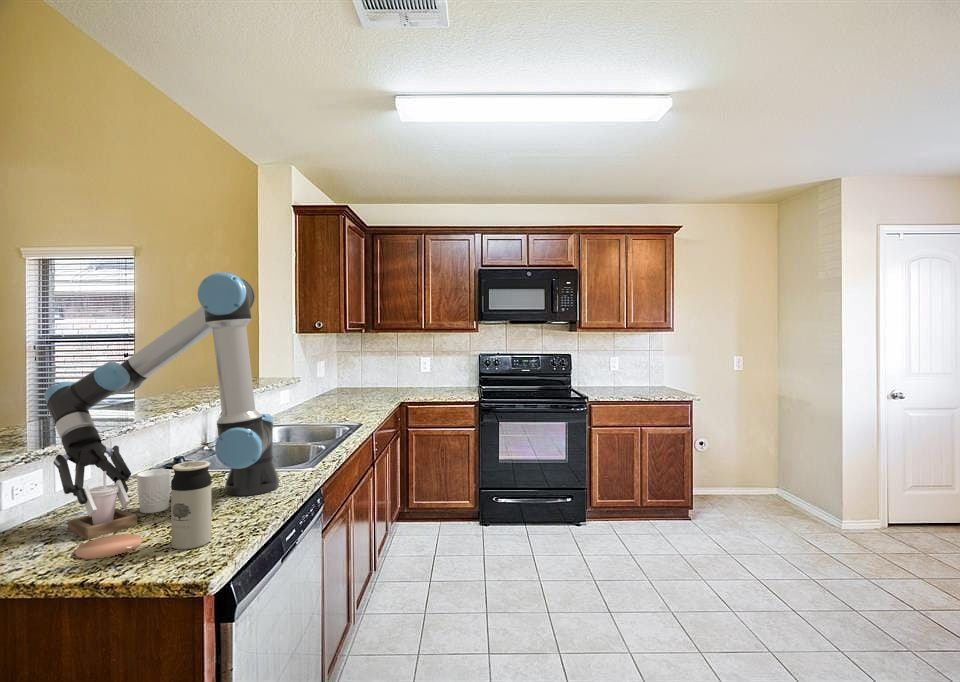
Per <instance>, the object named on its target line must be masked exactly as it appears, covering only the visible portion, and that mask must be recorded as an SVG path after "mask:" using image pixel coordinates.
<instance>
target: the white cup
mask: <svg viewBox="0 0 960 682" xmlns="http://www.w3.org/2000/svg"><path fill="white" fill-rule="evenodd" d="M171 481H172V470H171V469H169V468H168V469H167V468H158V469H156V468H155V469H149V470H145V471H141V472H139V473H137V474H136V482H137V483H136V484H137V485H136V486H137V498H138V504H139V513H141V514H155V513H159V512H163V511H166V510H168V509H169V508H170V507H169V506H170V497H171Z"/></svg>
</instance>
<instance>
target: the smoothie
mask: <svg viewBox="0 0 960 682" xmlns="http://www.w3.org/2000/svg"><path fill="white" fill-rule="evenodd" d="M102 472H103V473H102V474H103V475H102V476H103V479H102V481H103V482H102V484H103V485H100V486H95V487H92V488H88V489H89V491H90V494H91V496H92V498H93V501H94V503H95V506H96V508H97V510H96V512H95V514H94V515H93V516H92V522H93V526H94V525H97V524H101V523H105V522H108V521H112V520H113V518H114V511H115V508H116V502H117V498H118V496H117V492H118V491H119V487H118V486H115V484H114V485H113V484H112V485H110V484H109V485H107V475H106V471H102Z"/></svg>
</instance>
